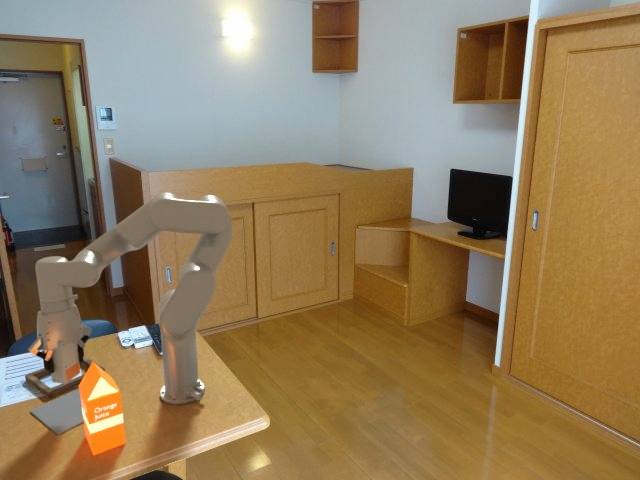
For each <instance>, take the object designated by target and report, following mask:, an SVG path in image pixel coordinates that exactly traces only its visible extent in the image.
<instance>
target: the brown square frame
mask: <svg viewBox="0 0 640 480" xmlns="http://www.w3.org/2000/svg"><path fill="white" fill-rule="evenodd" d="M83 360H84V361H82V362H80V361H79V364H81V365H82V366H84V367H85V368H87V369H89V367H90V365H91V364H92V362H94V363H95V364H96V365H97V366H98V367H100V368H101V369H102V370H103V371H105V372H106V368H105V367H103V366H102V365H100V364H98V363H96V362H95V361H93V360H92V359H90V358H88V357H86V356H85V355H84V357H83ZM85 374H86V373H83V374H82V375H79V376H76V377H74V378H73V379H71V380H70V381H69V382H67V383H66V384H62V383H59V384H57V385H55V386H53V387H50V386H49V385H47V384H46V383H44V382H43V381H42V380H40V379H41V378H44V377H46V376H49V375H51V373H50V372H48V371H46V370H45V368H44V367H43V368H40V369H37V370H35V371H33V372H30V373H27V374H25V375H24V377H25V382H27V383H28V384H29V385H30V386H32V387H33V388H34V389H36V390H37V391H38V392H39V391H40V393H41V394H42V395H44V396H45V397H46V398H47V399H52V398H53V397H56V396H58V395H60V394H62V393H65V392H68V391H70V390H72V389H74V388H76V387H78V386H79V384H80V383H81V381H82V379H83V378H84V376H85Z"/></svg>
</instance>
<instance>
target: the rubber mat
mask: <svg viewBox="0 0 640 480" xmlns="http://www.w3.org/2000/svg"><path fill="white" fill-rule="evenodd" d="M29 413H31V415H33V416H34V417H35V418H37V419H38V420H39V421H40V422H41V423H42V424H44V425H45V426H46V427H47V428H49V429H50V430H51V431H52V432H53V433H55V434H56V435H57V436H60V435H61V434H64V433H65V432H67V431H69V430H71V429H73V428H75V427H79V425H82V424H84V420H83V413H82V405H81V397H80V390H79V388H78V389H76V390H73V391H71V392H69V393H67V394H64V395H62V396H60V397H58V398H56V399H54V400H53V399H52V400H51V401H48V402H46V403H44V404H42V405H38V406H37V407H35V408H32V409H31V410H29Z"/></svg>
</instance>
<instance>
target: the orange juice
mask: <svg viewBox="0 0 640 480" xmlns="http://www.w3.org/2000/svg"><path fill="white" fill-rule="evenodd" d="M94 362H95V361H93V362H92V364H91V365H90V367H89V368H87V371H86V373H84V374H85V376H84V378H83V379H82V381H81V383H80V384H79V386H77V387H78V389H79V390H80V397H81V405H82V413H83V420H84V423H83V425H84V427H83V428H84V433H85V435H84V436H85V439H86V441H87V443H88V446H89V447H90V451H91V452H92V453H91V454H92V455H93V456H96V455H98V454H101V453H104V452H107V451H109V450H112V449H114V448H118V447H119V446H122V445H125V444H127V443H126V434H125V433H126V432H125V423H124V413H123V405H122V396H121V390H120V389H119V387H118V385H117V384H116V382H115V380H114V379H113V377H112V376H111V375H110V374H108V373H107V372H106V370H105V371H103V370H102V369H101V368H100V367H98V366H97V365H96V364H95V363H96V362H95V363H94Z"/></svg>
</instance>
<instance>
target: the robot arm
mask: <svg viewBox="0 0 640 480" xmlns="http://www.w3.org/2000/svg"><path fill="white" fill-rule="evenodd" d="M232 221H233V220H232V217H231V213H230V212H229V209H228V208H227V206H226V204H225V203H224V201H223V200H222V199H221V197H219V196H216V195H213V194H206V195H203V196H202V197H200V198H199V199H198V200H189V199H188V200H187V199H180V198H179V197H178V196H177V195H175V194H174V193H171V192H161V193H159V194H157V195H155V196H153V197H152V198H151V199H149V200H148V201H147V202H145V203H144V204H143V205H141V206H140V207H139V208H137V209H136V210H134V212H132V213H131V214H130V215H128V216H127V217H125V218H124V219H123V220H121V221H120V222H118V224H116V225H114V226H113V227H112V228H111V229H109V230H108V231H106V232H104V233H103V234H101V235H100V236H99V237H98V238H97V239H95V240H93V241H92V242H90V244H88V245H87V246H86V247H84V248H83V249H82V250H80V251H79V252H78V253H77V255H76V256H75V257H74V258H73V259H72V260H70V261H69V259H67V258H66V257H65V256H59V255H56V256H55V255H54V256H46V257H42V258H41V259H38V260H37V261H36V263H35V267H34V268H35V276H36V283H37V290H38V296H39V304H40V310H39V311H37V316H36V337H37V338H36V340H35V341H33V343H32V344H31V345H30V346H29V347H28V349H27V351H28V352H29V353H31V354H32V355H34V356H36V357H38V358H41V359H42V361H43V368H45V370H46V371H48V372H50V373H51V374H52V373H54V365H53V359H51V358H50V357H51V355H52V352H53V349H56V348H57V343H58V342H61V341H65V340H67V341H68V343H73V342H75V341H76V343H77V347H78V356H79V361H80V362H82V361H84V360H83V357H84V356H85V352H84V347H85V346H86V343H87V342H88V340H89V338H90V336H91V335H92V332H93V331H94V330H93V328H91V327H89V326H87V325H84V324H83V323H82V319H81V315H80V311H79V309H78V306H77V305H76V304H75V301H76V300H78V299H79V295H78V294H77V293H76V294H73V288H89V287H92V286H94V285H95V284H96V283H98V281H99V279H100V278H101V276H102V275H101V274H102V272H103V270H104V269H105V268H106V267H108V266H109V265H110V264H111V263H114V262H115V260H117V259H118V258H120V257H121V256H123V255H124V254H126V253H128V252H132V251H138V250H140V249H142V248H144V247H146V246H147V245H148V244H149V243H151V242H152V240H154V239H155V238H156V237H158V236H159V235H160V234H161V233H163V232H169V233H180V234H181V233H182V234H196V235H198V234H199V237H198V239H197V241H196V242H195V245H194V247H193V248H192V250H191V251H190V254H189V255H188V257H187V258H186V260H185V262H184V263H183V264H182V266H181V267H180V268H179V272H178V283H177V286H176V288H174V289H169V290H168V291H167V292H165V293H164V294H163V295H162V296H161V298H160V299H159V302H158V306H157V307H158V309H157V310H158V321H157V322H158V327H159V329H160V338H161V339H160V340H161V353H162V367H163V378H164V385H163V386H161V388H160V390H159V397H160V399H161V400H162V402H164V403H166V404H170V405H184V404H189V403H191V402H194V401H200V400H201V398H202V396H203V394H205V392H206V389H205V383H204V382H203V381H201V380H200V379H199V368H198V365H199V364H198V350H197V334H196V331H197V330H196V326H197V324H198V323H199V322H200V319H201V317H202V316H203V314H204V312H205V311H206V309H207V308H208V307H209V305H210V302H211V300H212V299H213V297H214V295H215V292H216V288H217V281H216V272H217V271H218V268H219V267H220V265H221V263H222V262H223V259H224V257H225V256H226V254H227V252H228V250H229V247H230V245H231V242H232V238H233V222H232ZM39 347H43V348H42V350H38V349H39ZM51 374H50V375H51Z"/></svg>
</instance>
